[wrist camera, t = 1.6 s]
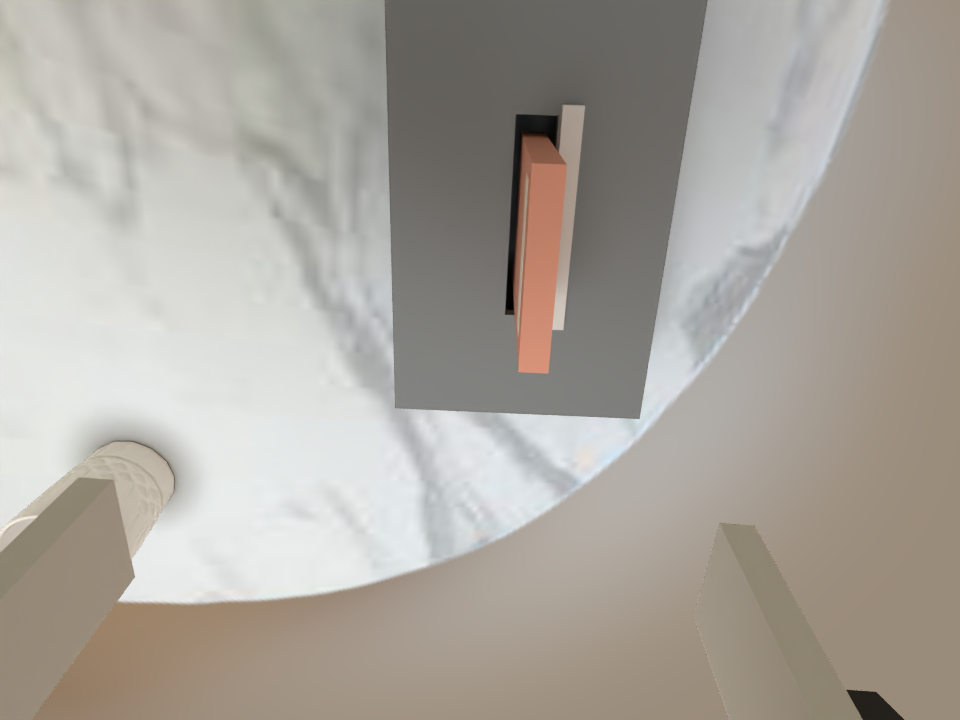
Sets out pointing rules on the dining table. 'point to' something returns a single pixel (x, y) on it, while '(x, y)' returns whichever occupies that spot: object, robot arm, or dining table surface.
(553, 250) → the ticket
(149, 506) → the white cup
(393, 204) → the dispenser
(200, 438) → the dining table surface
